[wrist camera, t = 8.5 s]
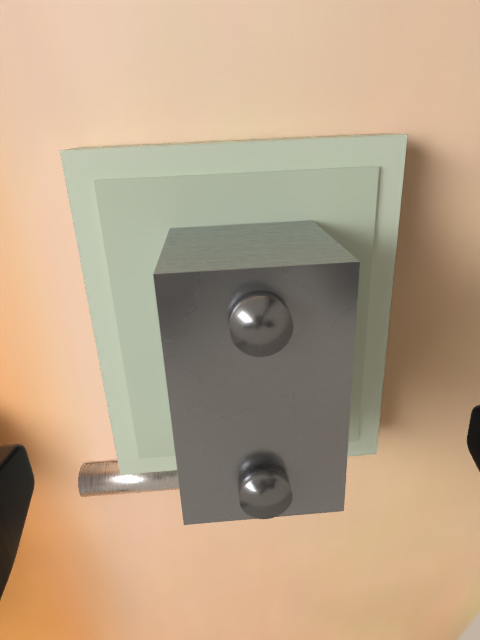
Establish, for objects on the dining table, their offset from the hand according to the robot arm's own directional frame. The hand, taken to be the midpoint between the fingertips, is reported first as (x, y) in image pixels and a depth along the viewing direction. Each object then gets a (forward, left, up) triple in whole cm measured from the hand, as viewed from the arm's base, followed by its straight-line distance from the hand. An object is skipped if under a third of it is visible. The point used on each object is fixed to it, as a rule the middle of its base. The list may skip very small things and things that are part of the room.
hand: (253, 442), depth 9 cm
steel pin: (+5, +11, -12) cm, 17 cm away
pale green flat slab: (0, +2, -12) cm, 12 cm away
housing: (0, +2, -9) cm, 9 cm away
